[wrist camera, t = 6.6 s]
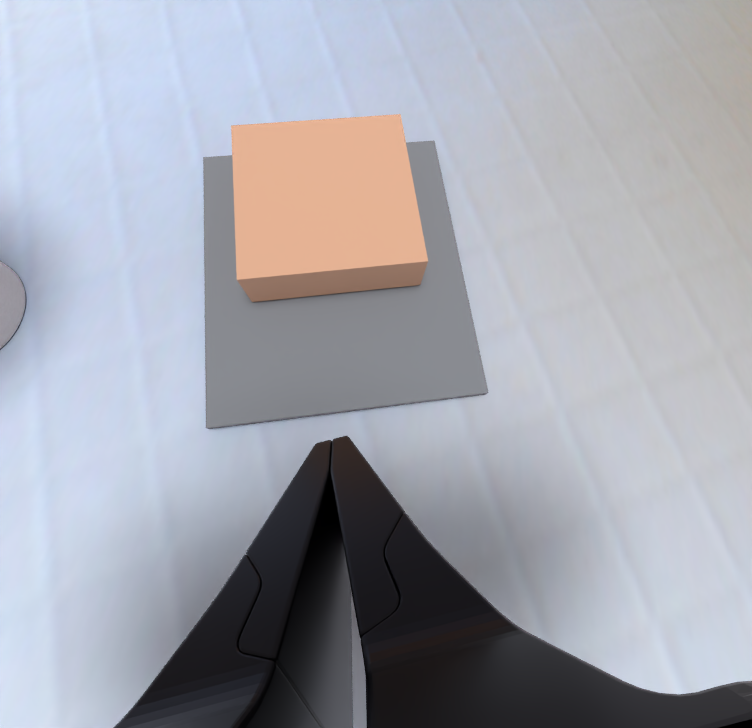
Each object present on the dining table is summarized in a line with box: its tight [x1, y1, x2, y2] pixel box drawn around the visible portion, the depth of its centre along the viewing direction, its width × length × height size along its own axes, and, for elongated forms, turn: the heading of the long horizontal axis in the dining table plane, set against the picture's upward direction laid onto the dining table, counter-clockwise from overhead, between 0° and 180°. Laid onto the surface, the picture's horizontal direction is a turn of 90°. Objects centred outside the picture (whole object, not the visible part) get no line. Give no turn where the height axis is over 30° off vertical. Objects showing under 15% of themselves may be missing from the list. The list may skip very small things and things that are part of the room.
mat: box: [203, 141, 488, 429], centre depth 20 cm, size 16×14×1 cm
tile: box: [231, 114, 428, 302], centre depth 19 cm, size 2×9×9 cm
